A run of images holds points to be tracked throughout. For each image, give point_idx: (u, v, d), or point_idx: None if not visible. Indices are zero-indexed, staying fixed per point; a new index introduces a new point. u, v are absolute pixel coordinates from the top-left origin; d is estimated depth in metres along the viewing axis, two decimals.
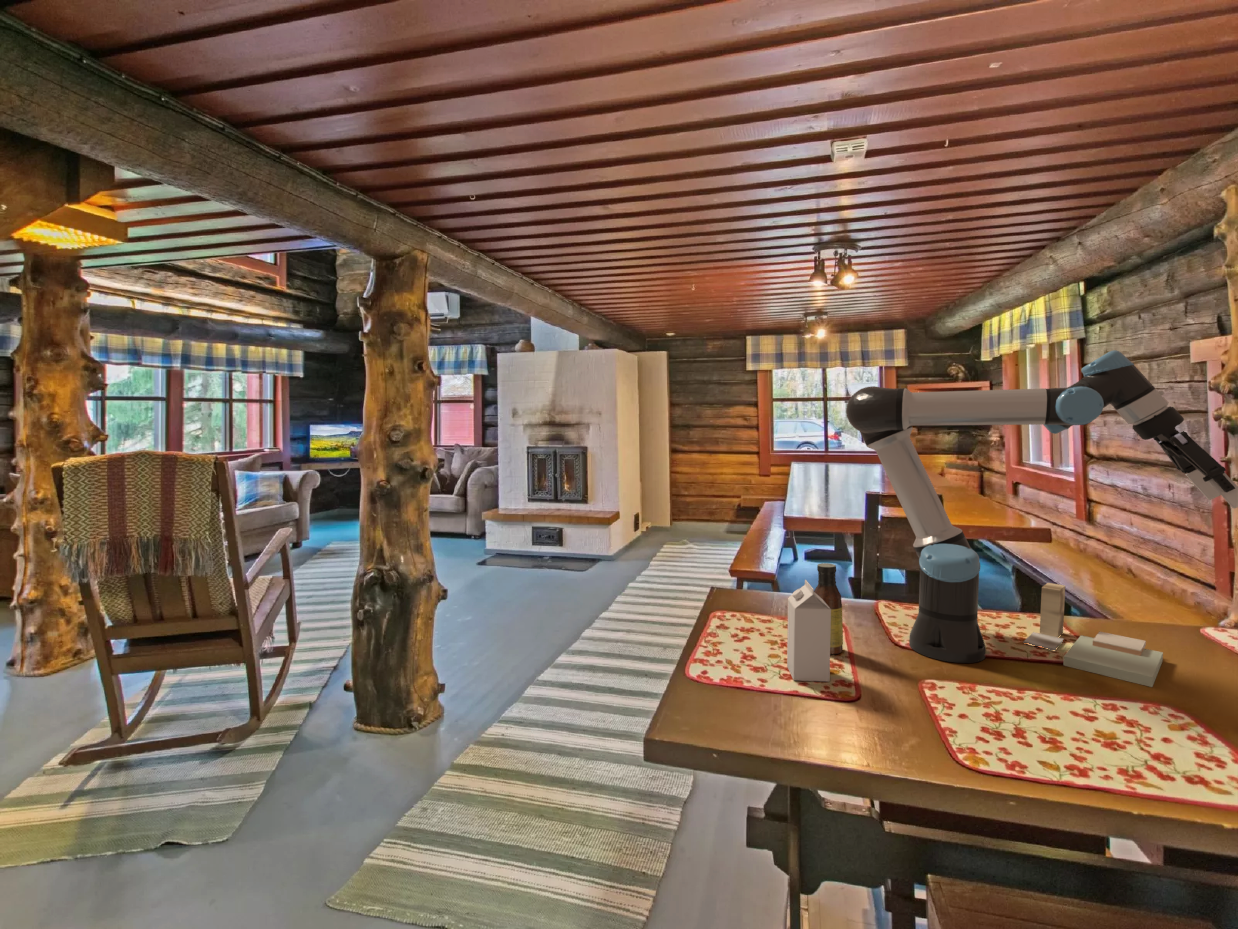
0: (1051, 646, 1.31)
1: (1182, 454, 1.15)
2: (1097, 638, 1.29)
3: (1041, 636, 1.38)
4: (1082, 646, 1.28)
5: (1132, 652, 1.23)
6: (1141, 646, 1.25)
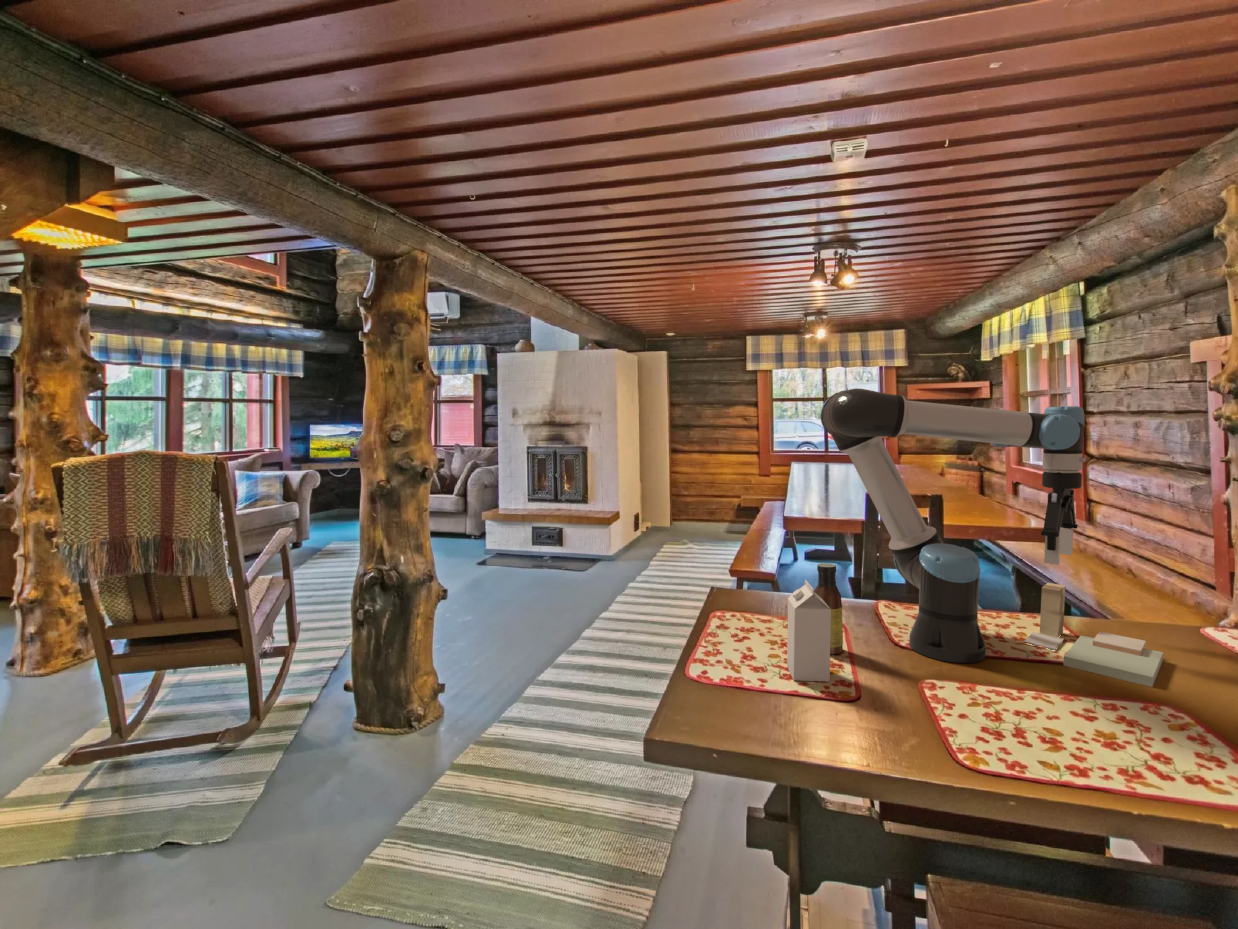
0: (1051, 646, 1.31)
1: None
2: (1097, 638, 1.29)
3: (1041, 636, 1.38)
4: (1082, 646, 1.28)
5: (1132, 652, 1.23)
6: (1141, 646, 1.25)
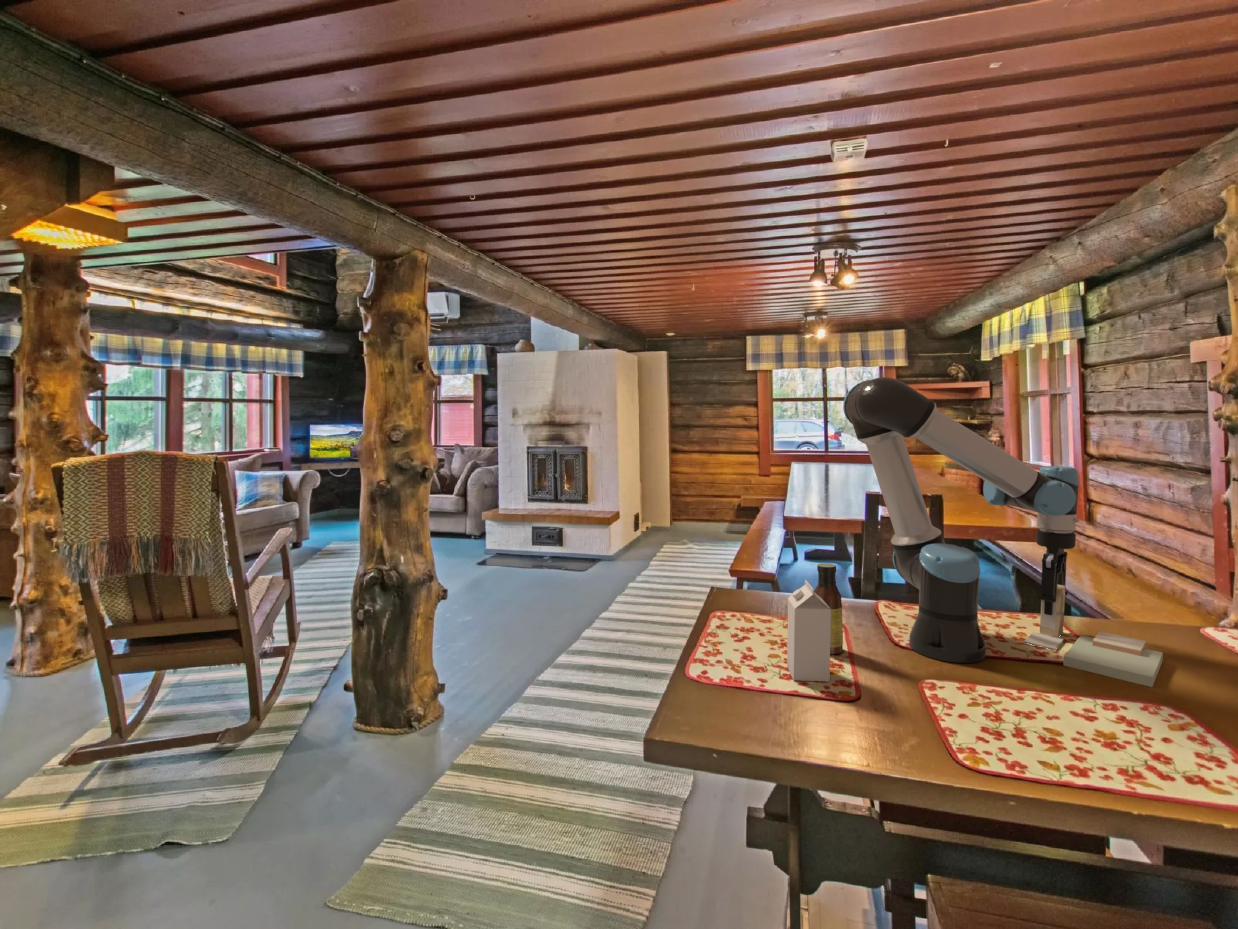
0: (1051, 646, 1.31)
1: None
2: (1097, 638, 1.29)
3: (1041, 636, 1.38)
4: (1082, 646, 1.28)
5: (1132, 652, 1.23)
6: (1141, 646, 1.25)
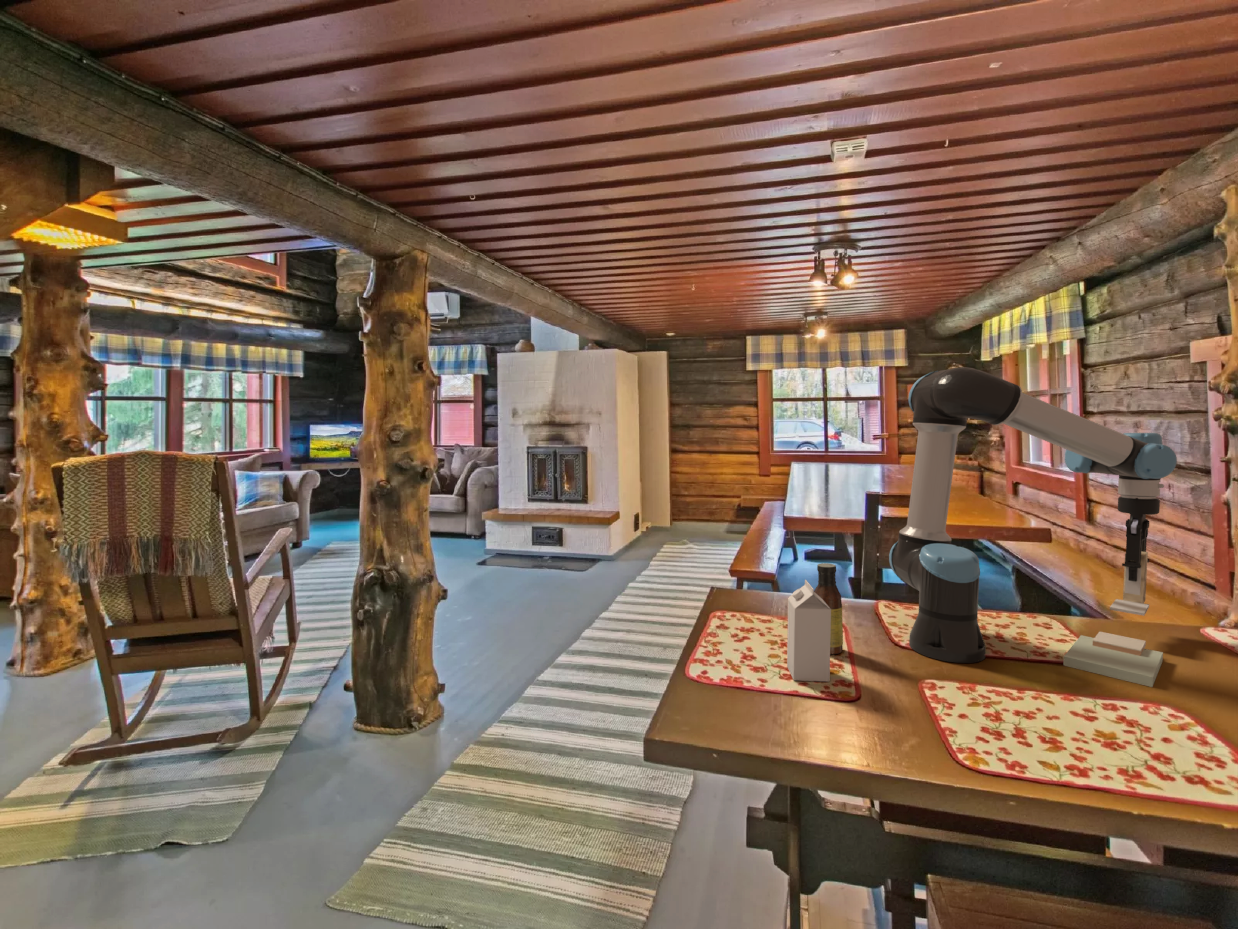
0: (1140, 611, 1.31)
1: None
2: (1097, 638, 1.29)
3: (1125, 602, 1.37)
4: (1082, 646, 1.28)
5: (1132, 652, 1.23)
6: (1141, 646, 1.25)
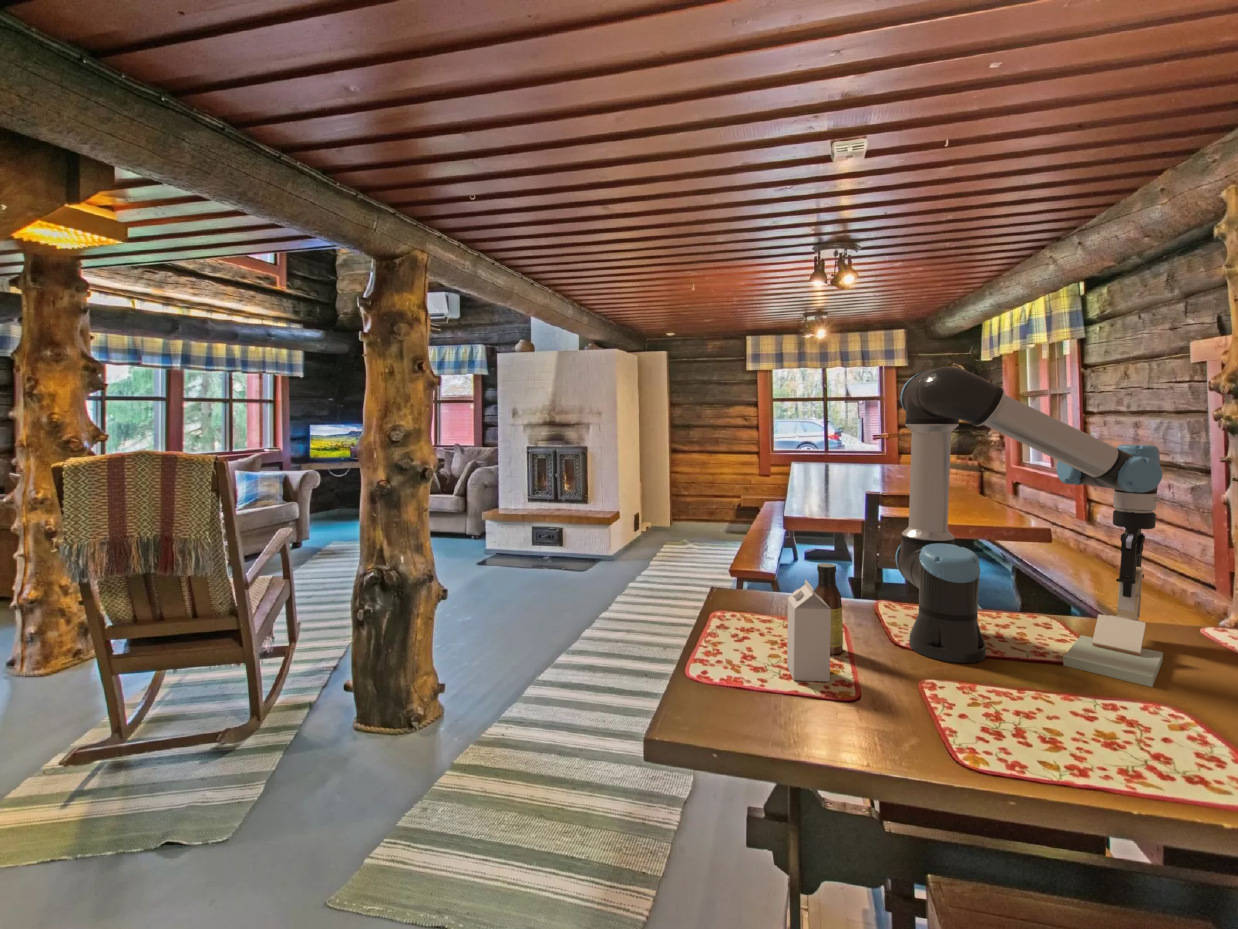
0: None
1: None
2: (1096, 635, 1.28)
3: None
4: (1082, 646, 1.28)
5: (1132, 653, 1.23)
6: (1141, 640, 1.24)
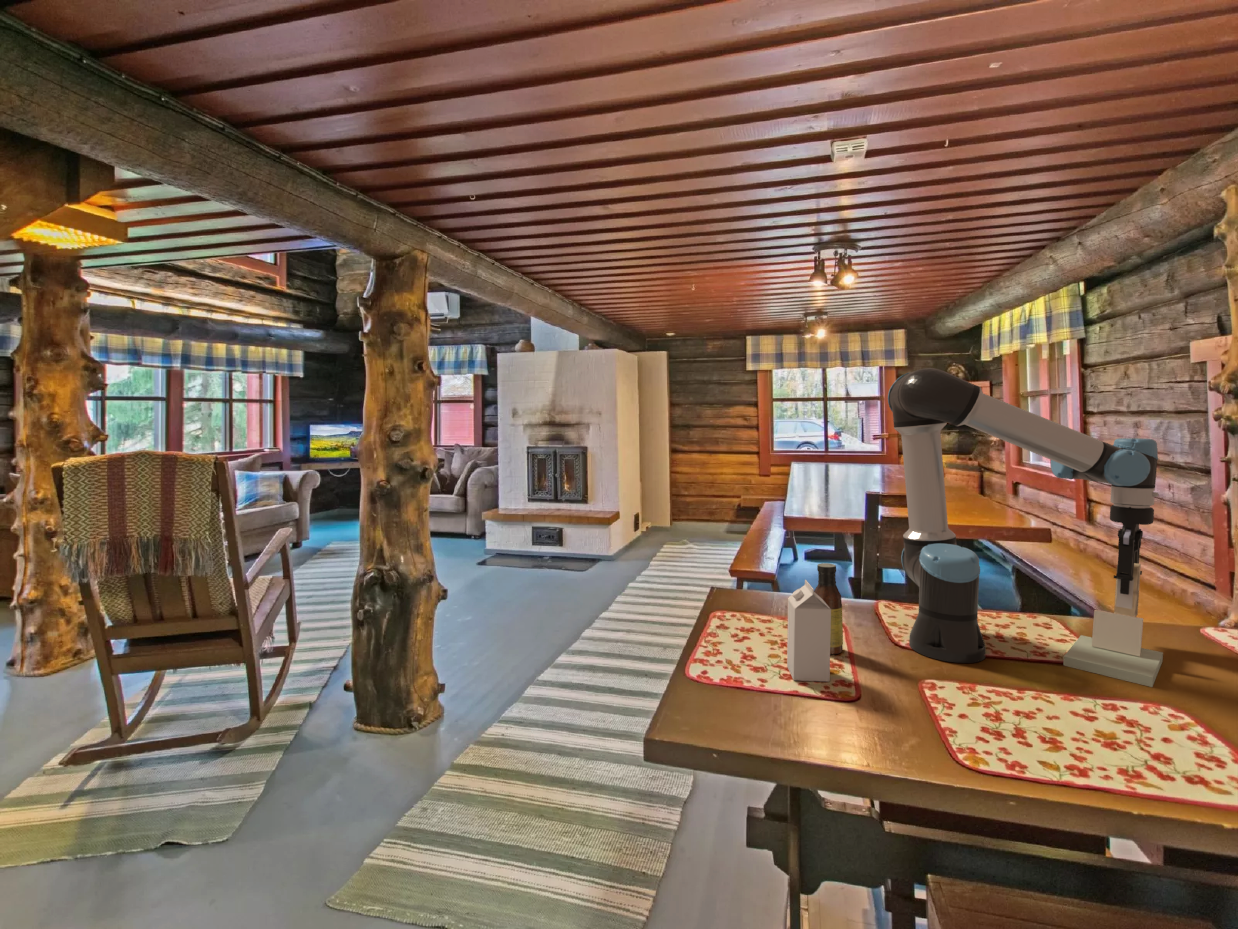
0: None
1: None
2: (1095, 637, 1.27)
3: None
4: (1082, 646, 1.28)
5: (1132, 654, 1.23)
6: (1139, 641, 1.22)
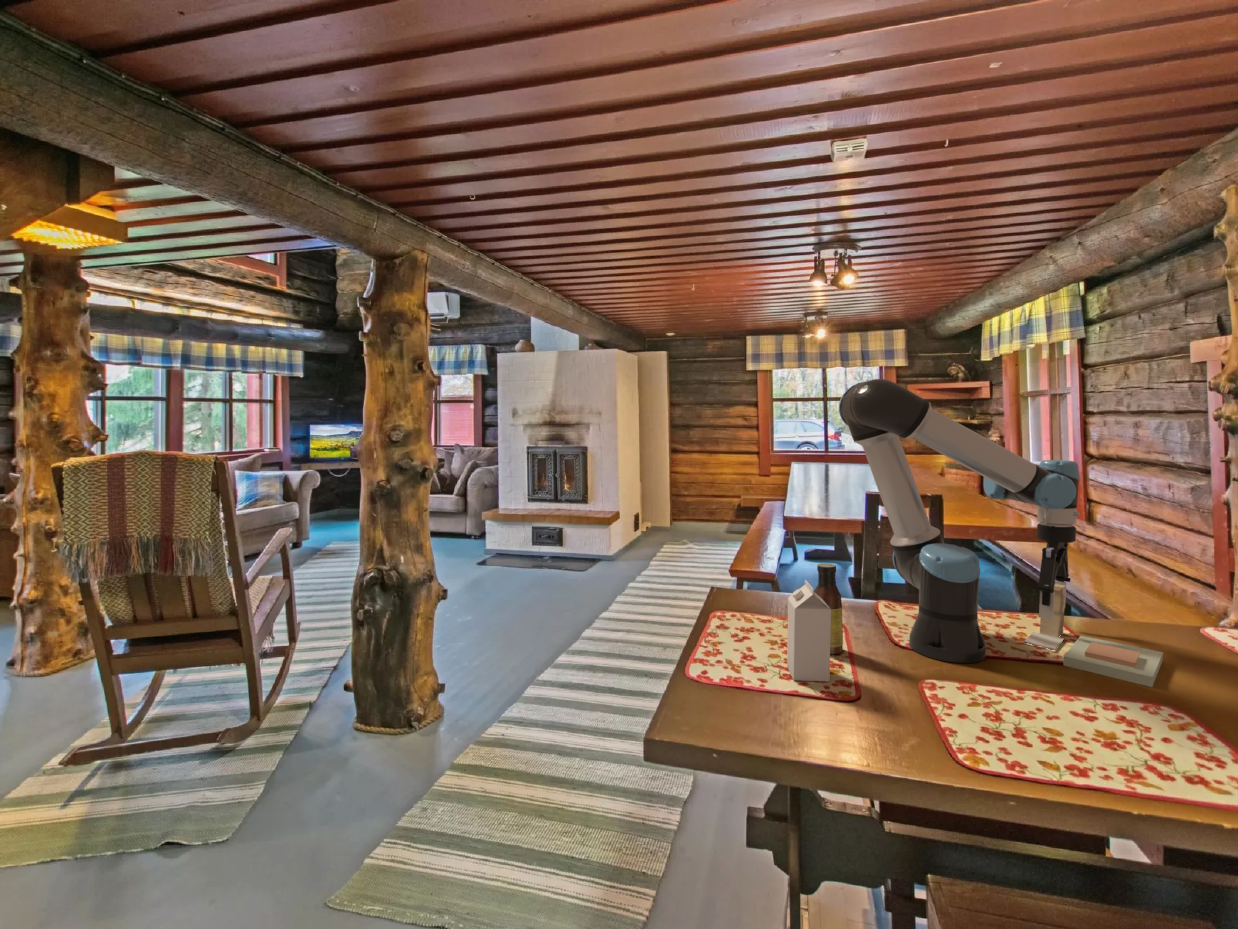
0: (1052, 646, 1.31)
1: None
2: None
3: (1041, 636, 1.38)
4: (1082, 646, 1.28)
5: None
6: None
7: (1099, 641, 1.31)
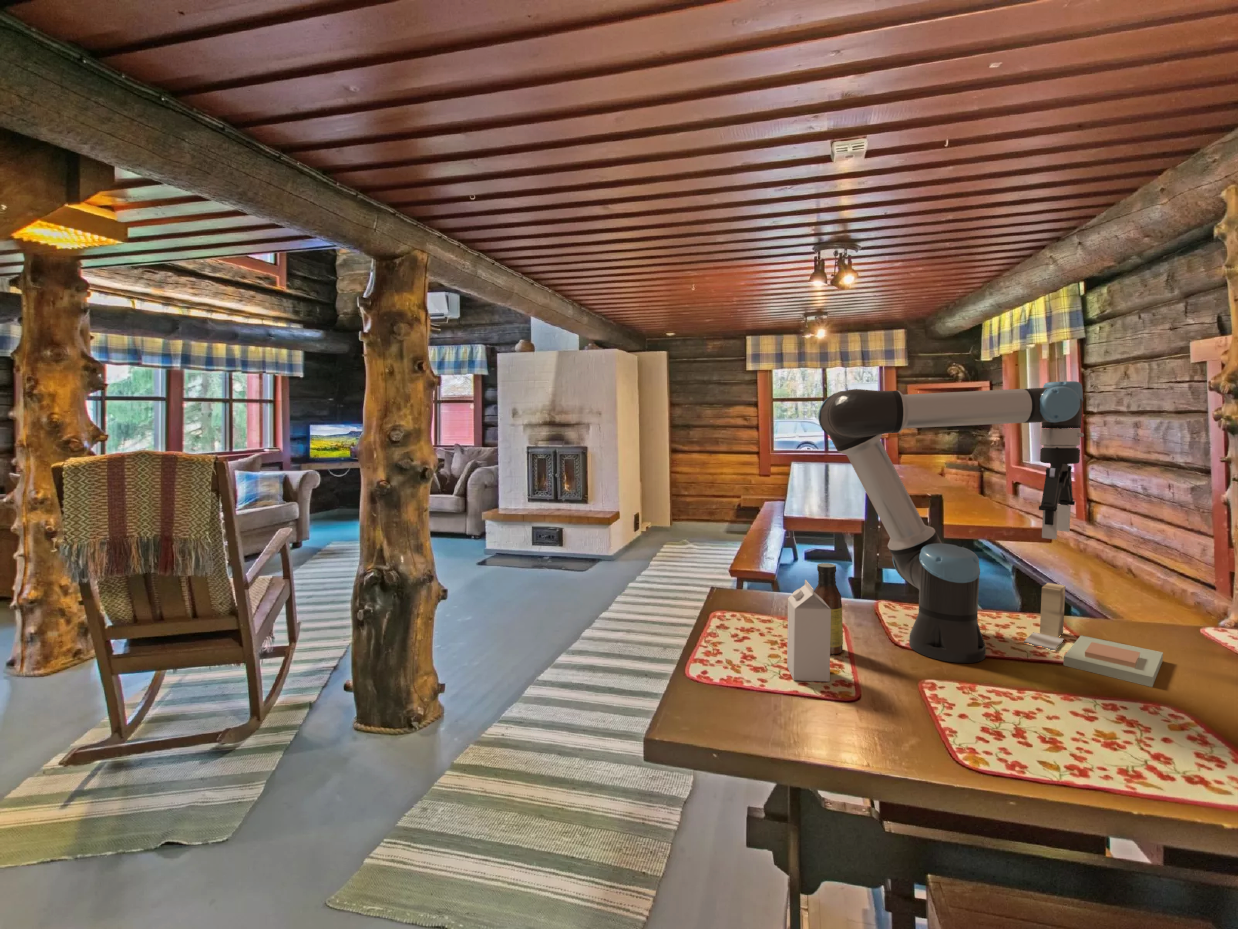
0: (1052, 646, 1.31)
1: None
2: None
3: (1041, 636, 1.38)
4: (1082, 646, 1.28)
5: None
6: None
7: (1099, 641, 1.31)
